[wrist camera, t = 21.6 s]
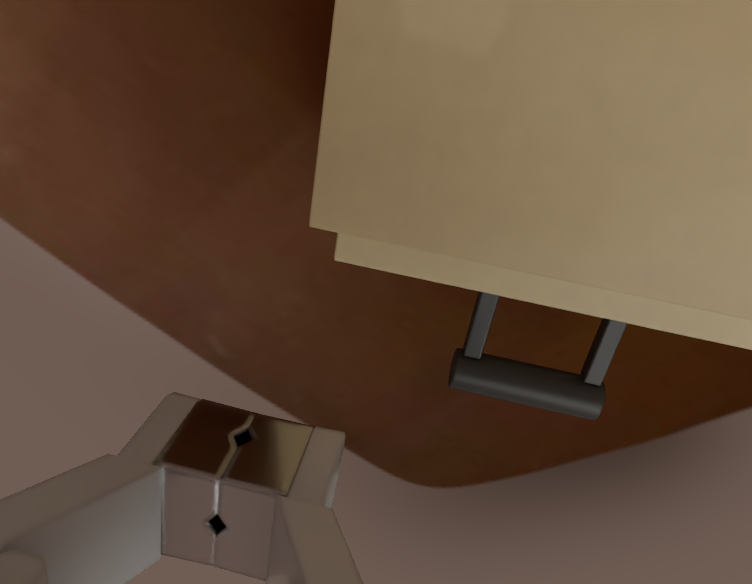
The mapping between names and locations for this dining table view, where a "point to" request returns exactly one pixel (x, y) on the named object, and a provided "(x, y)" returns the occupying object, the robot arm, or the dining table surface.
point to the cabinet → (548, 139)
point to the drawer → (492, 281)
